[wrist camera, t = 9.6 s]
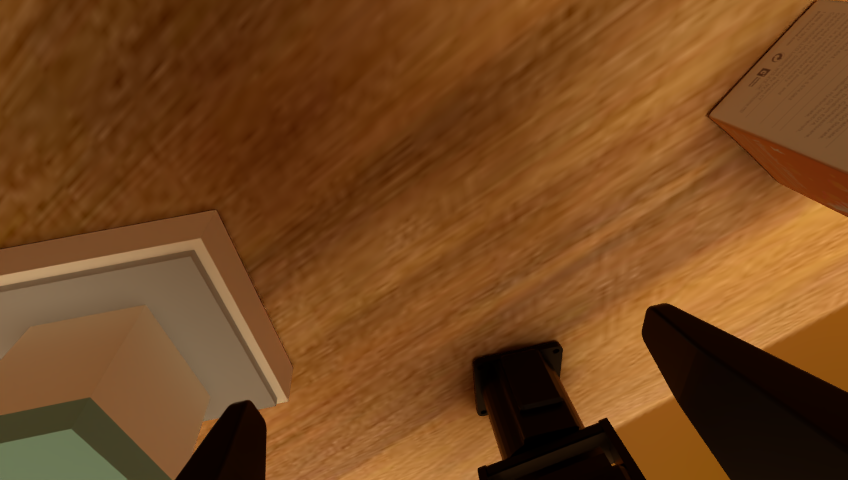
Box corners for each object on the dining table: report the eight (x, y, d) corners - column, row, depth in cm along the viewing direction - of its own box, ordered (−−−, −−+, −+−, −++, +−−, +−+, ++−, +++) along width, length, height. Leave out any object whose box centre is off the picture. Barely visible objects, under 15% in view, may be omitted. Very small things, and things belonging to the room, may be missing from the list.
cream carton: (145, 304, 18) (70, 429, 13) (210, 396, 22) (171, 518, 17) (30, 326, 18) (-91, 462, 13) (117, 415, 22) (50, 545, 17)
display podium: (293, 367, 26) (287, 408, 24) (103, 407, 26) (77, 453, 23) (216, 209, 19) (197, 244, 17) (-46, 257, 19) (-105, 301, 16)
